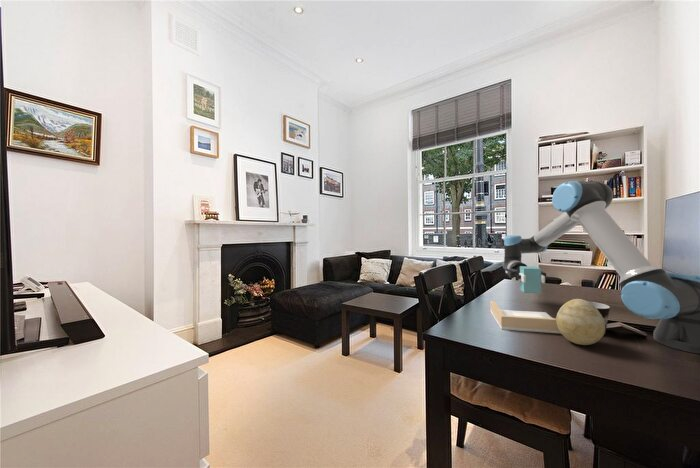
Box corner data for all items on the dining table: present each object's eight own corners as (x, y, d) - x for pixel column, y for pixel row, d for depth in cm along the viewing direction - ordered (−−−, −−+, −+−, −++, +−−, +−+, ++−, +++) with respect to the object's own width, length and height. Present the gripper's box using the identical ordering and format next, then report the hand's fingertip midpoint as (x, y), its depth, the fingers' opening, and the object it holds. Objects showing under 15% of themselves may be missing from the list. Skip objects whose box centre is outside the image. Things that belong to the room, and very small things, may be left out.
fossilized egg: (573, 351, 90) (573, 305, 89) (547, 335, 102) (548, 294, 102) (615, 352, 89) (616, 304, 88) (585, 335, 101) (585, 294, 101)
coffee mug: (597, 327, 108) (597, 301, 108) (616, 336, 100) (616, 308, 99) (564, 327, 110) (564, 301, 109) (580, 336, 101) (580, 308, 101)
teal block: (535, 289, 120) (535, 266, 120) (540, 293, 114) (540, 268, 114) (519, 289, 122) (519, 266, 121) (523, 292, 116) (523, 268, 116)
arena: (568, 334, 103) (568, 320, 103) (501, 329, 109) (501, 316, 109) (545, 314, 124) (545, 303, 124) (490, 311, 130) (490, 300, 130)
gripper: (541, 278, 132) (562, 289, 110) (496, 276, 138) (507, 287, 116) (541, 262, 132) (562, 270, 110) (495, 261, 138) (507, 269, 116)
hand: (534, 279), depth 113 cm, fingers closed on teal block, 6 cm apart
